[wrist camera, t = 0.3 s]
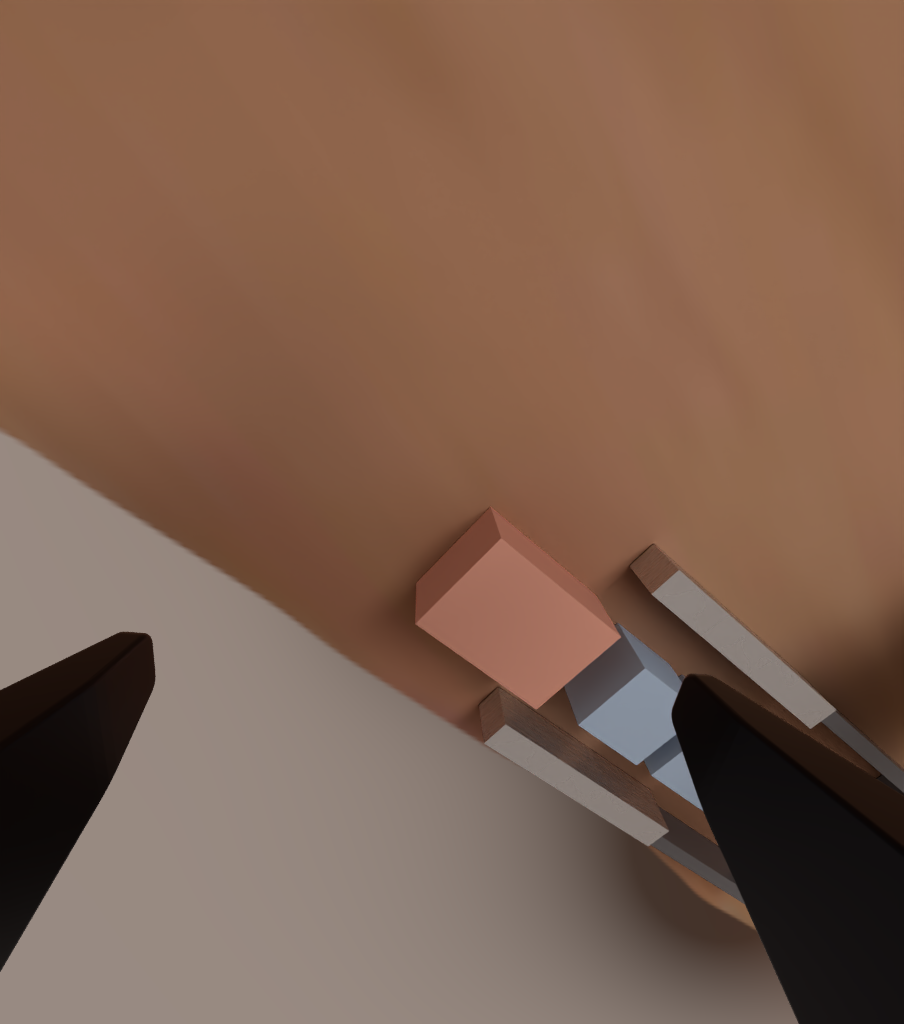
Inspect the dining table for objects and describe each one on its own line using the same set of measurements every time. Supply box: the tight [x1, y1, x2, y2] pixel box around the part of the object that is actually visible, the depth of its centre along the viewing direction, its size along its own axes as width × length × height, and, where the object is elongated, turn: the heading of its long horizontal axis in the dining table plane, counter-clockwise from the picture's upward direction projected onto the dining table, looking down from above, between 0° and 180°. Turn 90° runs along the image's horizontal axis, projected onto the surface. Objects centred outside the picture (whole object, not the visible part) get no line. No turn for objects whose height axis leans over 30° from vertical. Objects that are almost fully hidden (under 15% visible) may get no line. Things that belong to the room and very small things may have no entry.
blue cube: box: [564, 623, 682, 765], centre depth 24 cm, size 4×4×4 cm
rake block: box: [415, 507, 621, 710], centre depth 22 cm, size 7×5×4 cm
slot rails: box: [479, 544, 836, 846], centre depth 25 cm, size 12×12×2 cm
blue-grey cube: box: [644, 675, 703, 811], centre depth 26 cm, size 4×4×4 cm
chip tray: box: [651, 708, 904, 904], centre depth 29 cm, size 11×12×2 cm
